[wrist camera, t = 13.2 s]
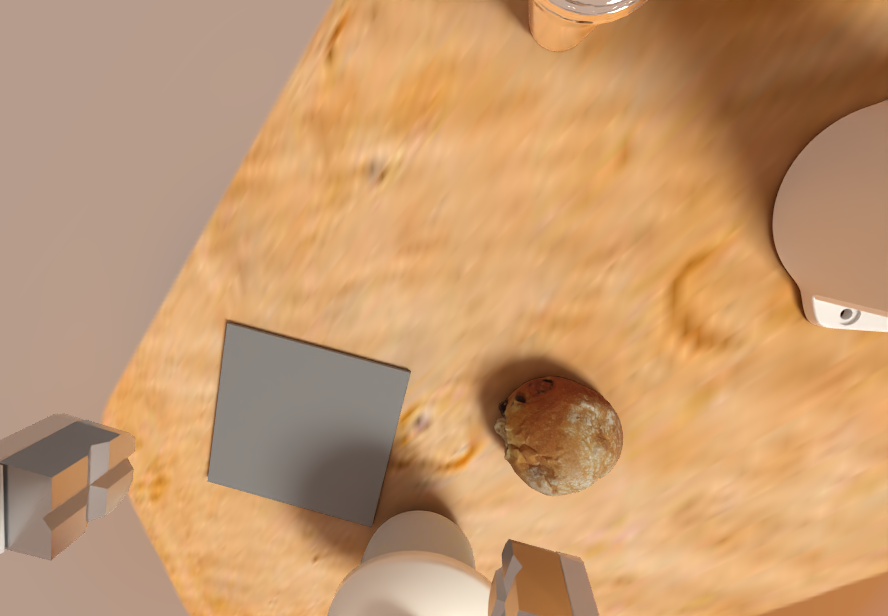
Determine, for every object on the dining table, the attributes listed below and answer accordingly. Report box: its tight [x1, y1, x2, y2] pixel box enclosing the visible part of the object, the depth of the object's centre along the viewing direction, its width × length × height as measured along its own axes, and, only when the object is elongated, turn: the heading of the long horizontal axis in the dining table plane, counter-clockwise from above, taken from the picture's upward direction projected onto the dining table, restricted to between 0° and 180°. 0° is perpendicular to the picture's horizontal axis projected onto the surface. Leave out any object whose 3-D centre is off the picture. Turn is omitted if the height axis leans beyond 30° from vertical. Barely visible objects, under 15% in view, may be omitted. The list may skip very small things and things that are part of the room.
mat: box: [208, 322, 411, 527], centre depth 39 cm, size 17×17×1 cm
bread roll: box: [494, 376, 623, 496], centre depth 35 cm, size 10×10×8 cm
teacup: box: [361, 510, 476, 570], centre depth 38 cm, size 14×11×8 cm
